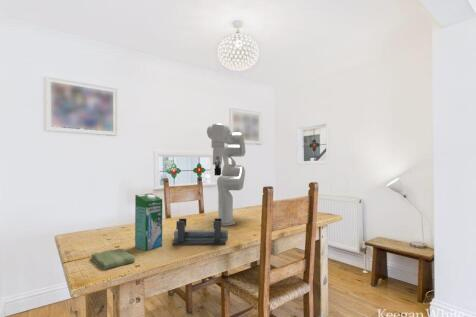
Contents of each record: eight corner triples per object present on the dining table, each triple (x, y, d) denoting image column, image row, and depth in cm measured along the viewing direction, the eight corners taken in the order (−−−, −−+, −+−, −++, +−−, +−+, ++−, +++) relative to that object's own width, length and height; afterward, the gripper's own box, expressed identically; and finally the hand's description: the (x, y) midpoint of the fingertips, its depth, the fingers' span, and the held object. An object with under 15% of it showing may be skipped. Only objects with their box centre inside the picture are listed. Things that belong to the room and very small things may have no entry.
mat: (176, 237, 141) (176, 236, 141) (226, 237, 142) (226, 236, 142) (174, 240, 136) (174, 239, 136) (226, 240, 137) (226, 239, 137)
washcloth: (121, 252, 120) (121, 245, 120) (136, 263, 107) (137, 255, 107) (89, 259, 111) (89, 252, 111) (102, 272, 98) (102, 264, 98)
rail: (175, 236, 141) (175, 230, 141) (227, 236, 141) (227, 230, 141) (174, 238, 137) (174, 231, 137) (227, 238, 138) (227, 231, 138)
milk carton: (145, 250, 121) (146, 196, 121) (134, 247, 126) (135, 194, 126) (162, 245, 128) (162, 194, 128) (151, 242, 133) (151, 193, 134)
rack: (174, 241, 135) (175, 218, 135) (225, 241, 135) (225, 218, 135) (171, 246, 128) (171, 221, 128) (225, 245, 128) (225, 221, 128)
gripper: (212, 146, 161) (212, 174, 161) (210, 144, 144) (210, 175, 143) (224, 146, 161) (224, 174, 161) (224, 144, 144) (223, 175, 144)
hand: (217, 175), depth 152 cm, fingers open, 9 cm apart
